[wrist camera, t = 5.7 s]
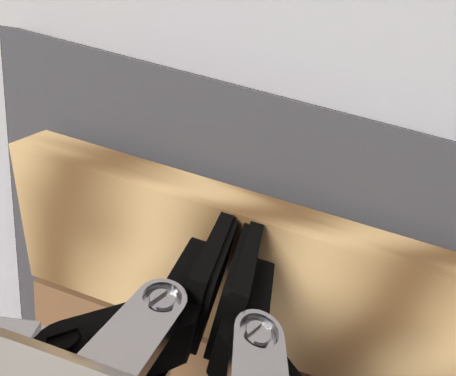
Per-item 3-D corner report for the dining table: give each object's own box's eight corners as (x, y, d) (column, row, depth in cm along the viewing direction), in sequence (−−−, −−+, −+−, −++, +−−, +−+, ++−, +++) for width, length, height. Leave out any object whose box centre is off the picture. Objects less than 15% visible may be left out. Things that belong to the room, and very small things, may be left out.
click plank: (503, 265, 12) (536, 306, 10) (408, 371, 15) (420, 414, 14) (45, 129, 14) (8, 143, 12) (58, 251, 18) (31, 275, 16)
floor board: (614, 182, 12) (711, 217, 9) (374, 474, 20) (386, 536, 18) (18, 27, 14) (-48, 18, 12) (35, 343, 23) (0, 379, 20)
